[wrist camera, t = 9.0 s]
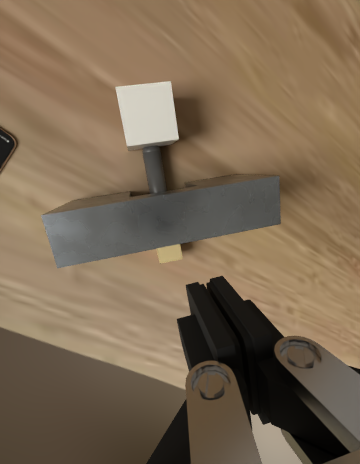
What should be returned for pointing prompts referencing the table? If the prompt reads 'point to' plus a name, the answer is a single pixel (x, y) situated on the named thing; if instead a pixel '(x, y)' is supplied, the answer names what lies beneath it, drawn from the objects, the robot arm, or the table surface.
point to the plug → (150, 135)
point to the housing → (161, 217)
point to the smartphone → (6, 147)
